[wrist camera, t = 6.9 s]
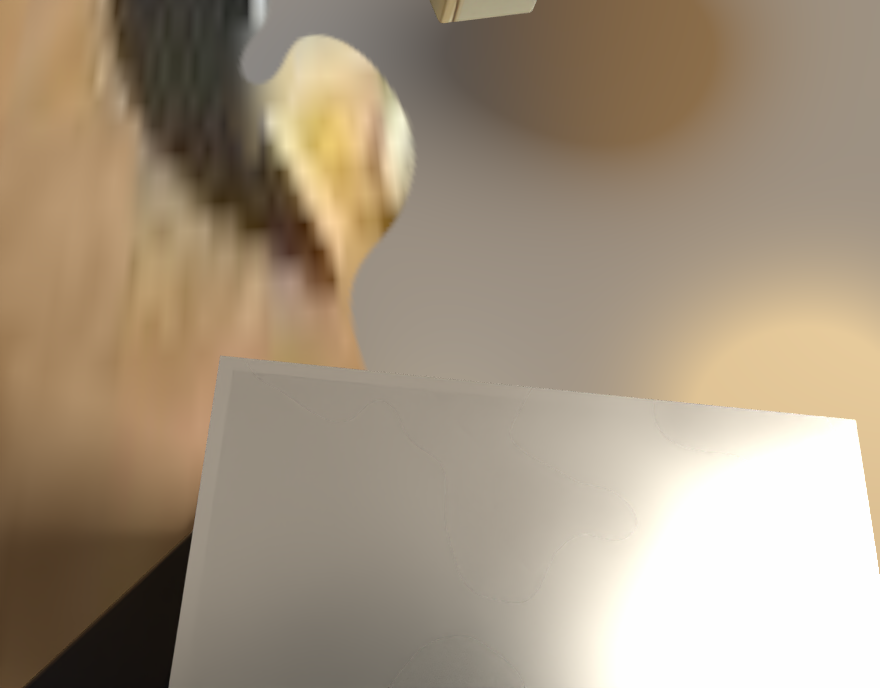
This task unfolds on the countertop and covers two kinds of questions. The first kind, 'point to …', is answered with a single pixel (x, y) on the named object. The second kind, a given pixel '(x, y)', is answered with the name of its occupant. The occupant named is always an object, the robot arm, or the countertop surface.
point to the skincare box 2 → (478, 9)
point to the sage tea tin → (520, 540)
